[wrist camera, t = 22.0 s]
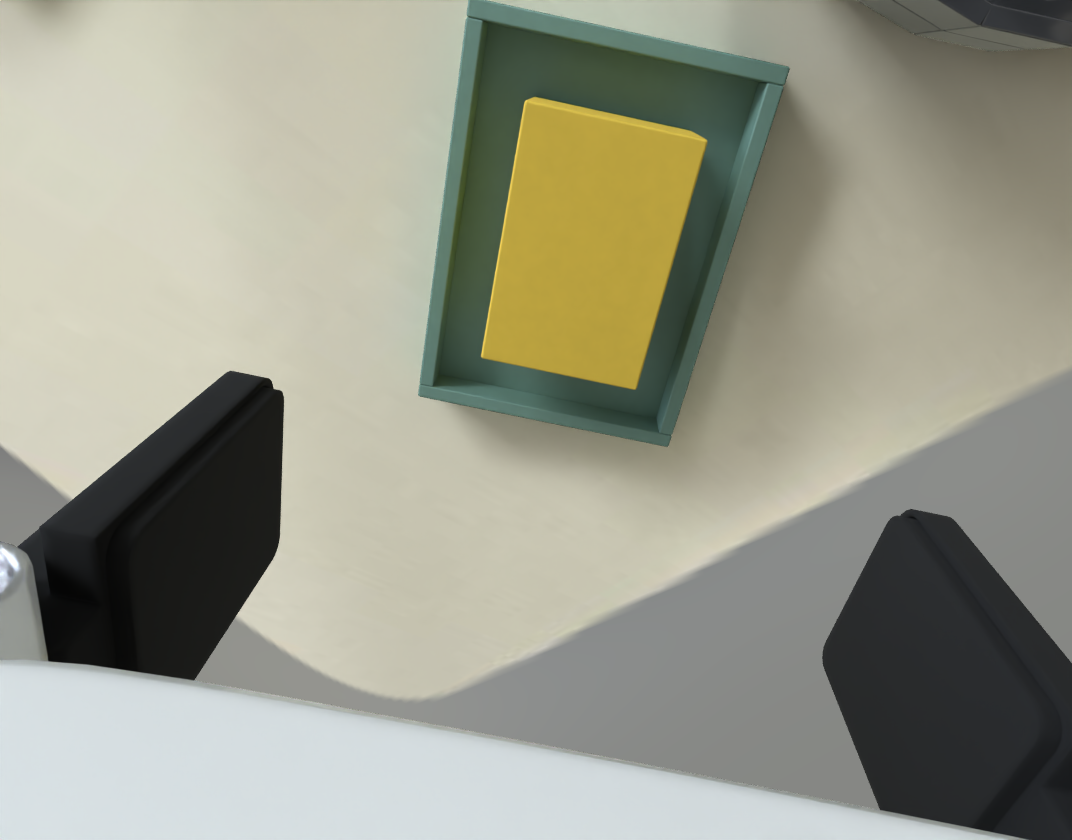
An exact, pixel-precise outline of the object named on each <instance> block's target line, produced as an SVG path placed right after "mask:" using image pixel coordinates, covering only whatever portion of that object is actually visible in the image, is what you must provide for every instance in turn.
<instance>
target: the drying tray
mask: <svg viewBox="0 0 1072 840" xmlns="http://www.w3.org/2000/svg"><path fill="white" fill-rule="evenodd" d="M467 16H468V17H467V18H466V24H465V32H464V39H463V47H462V55H461V63H460V71H459V79H458V87H457V94H456V102H455V110H454V118H453V126H452V134H451V141H450V149H449V157H448V165H447V173H446V181H445V188H444V196H443V204H442V212H441V220H440V228H439V235H438V243H437V251H436V259H435V267H434V275H433V282H432V290H431V298H430V306H429V314H428V322H427V329H426V337H425V345H424V353H423V361H422V369H421V376H420V385H419V392H418V395H419V396H420V397H425V398H430V399H435V400H440V401H445V402H450V403H454V404H459V405H464V406H469V407H474V408H479V409H484V410H489V411H494V412H499V413H504V414H508V415H513V416H518V417H523V418H528V419H533V420H538V421H543V422H548V423H553V424H558V425H562V426H567V427H572V428H577V429H582V430H587V431H592V432H597V433H602V434H607V435H612V436H616V437H621V438H626V439H631V440H636V441H641V442H646V443H651V444H656V445H661V446H666V447H668V446H669V443H670V440H671V435H672V433H673V430H674V427H675V424H676V421H677V418H678V415H679V412H680V408H681V405H682V402H683V399H684V396H685V393H686V390H687V387H688V384H689V380H690V377H691V374H692V371H693V368H694V365H695V362H696V359H697V356H698V352H699V349H700V346H701V343H702V340H703V337H704V334H705V331H706V328H707V324H708V321H709V318H710V315H711V312H712V309H713V306H714V303H715V300H716V297H717V293H718V290H719V287H720V284H721V281H722V278H723V275H724V272H725V269H726V265H727V262H728V259H729V256H730V253H731V250H732V247H733V244H734V241H735V237H736V234H737V231H738V228H739V225H740V222H741V219H742V216H743V213H744V209H745V206H746V203H747V200H748V197H749V194H750V191H751V188H752V185H753V181H754V178H755V175H756V172H757V169H758V166H759V163H760V160H761V157H762V153H763V150H764V147H765V144H766V141H767V138H768V135H769V132H770V129H771V125H772V122H773V119H774V116H775V113H776V110H777V107H778V104H779V101H780V98H781V94H782V91H783V85H784V84H785V82H786V79H787V76H788V73H789V70H790V69H789V67H788V66H783V65H779V64H774V63H770V62H765V61H760V60H756V59H751V58H747V57H742V56H738V55H733V54H729V53H724V52H719V51H715V50H710V49H706V48H701V47H697V46H692V45H687V44H683V43H678V42H674V41H669V40H665V39H660V38H656V37H651V36H646V35H642V34H637V33H633V32H628V31H624V30H619V29H614V28H610V27H605V26H601V25H596V24H592V23H587V22H583V21H578V20H573V19H569V18H564V17H560V16H555V15H551V14H546V13H541V12H537V11H532V10H528V9H523V8H519V7H514V6H510V5H505V4H500V3H496V2H491V1H487V0H468V8H467ZM535 96H538V97H543V98H547V99H552V100H556V101H561V102H566V103H570V104H575V105H579V106H584V107H588V108H593V109H598V110H602V111H607V112H611V113H616V114H620V115H625V116H630V117H634V118H639V119H643V120H648V121H653V122H657V123H662V124H666V125H671V126H675V127H680V128H685V129H689V130H690V131H692V132H694V133H696V134H698V135H699V136H701V137H703V138H705V139H706V140H707V146H706V150H705V153H704V157H703V160H702V164H701V167H700V171H699V174H698V178H697V181H696V185H695V188H694V191H693V195H692V198H691V202H690V205H689V209H688V212H687V216H686V219H685V223H684V226H683V230H682V233H681V237H680V240H679V244H678V247H677V251H676V254H675V257H674V261H673V264H672V268H671V271H670V275H669V278H668V282H667V285H666V289H665V292H664V296H663V299H662V303H661V306H660V310H659V313H658V317H657V320H656V323H655V327H654V330H653V334H652V337H651V341H650V344H649V348H648V351H647V355H646V358H645V362H644V365H643V369H642V372H641V376H640V379H639V383H638V386H637V389H636V390H632V389H628V388H623V387H618V386H613V385H608V384H604V383H599V382H594V381H589V380H584V379H579V378H575V377H570V376H565V375H560V374H555V373H551V372H546V371H541V370H536V369H531V368H527V367H522V366H517V365H512V364H507V363H502V362H498V361H493V360H488V359H483V358H482V357H481V353H482V347H483V341H484V335H485V330H486V324H487V318H488V312H489V306H490V300H491V294H492V289H493V283H494V277H495V271H496V265H497V259H498V253H499V248H500V242H501V236H502V230H503V224H504V218H505V213H506V207H507V201H508V195H509V189H510V183H511V177H512V172H513V166H514V160H515V154H516V148H517V142H518V137H519V131H520V125H521V119H522V113H523V107H524V102H525V101H526V100H528V99H531V98H533V97H535Z"/></svg>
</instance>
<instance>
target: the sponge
mask: <svg viewBox="0 0 1072 840" xmlns="http://www.w3.org/2000/svg"><path fill="white" fill-rule="evenodd" d="M706 146H707V140H706V139H705V138H703V137H701V136H699V135H698V134H696V133H694V132H692V131H690V130H689V129H685V128H680V127H675V126H671V125H666V124H662V123H657V122H653V121H648V120H643V119H639V118H634V117H630V116H625V115H620V114H616V113H611V112H607V111H602V110H598V109H593V108H588V107H584V106H579V105H575V104H570V103H566V102H561V101H556V100H552V99H547V98H543V97H538V96H535V97H533V98H531V99H528V100H526V101H525V102H524V107H523V113H522V119H521V125H520V131H519V137H518V142H517V148H516V154H515V160H514V166H513V172H512V177H511V183H510V189H509V195H508V201H507V207H506V213H505V218H504V224H503V230H502V236H501V242H500V248H499V253H498V259H497V265H496V271H495V277H494V283H493V289H492V294H491V300H490V306H489V312H488V318H487V324H486V330H485V335H484V341H483V347H482V353H481V357H482V358H483V359H488V360H493V361H498V362H502V363H507V364H512V365H517V366H522V367H527V368H531V369H536V370H541V371H546V372H551V373H555V374H560V375H565V376H570V377H575V378H579V379H584V380H589V381H594V382H599V383H604V384H608V385H613V386H618V387H623V388H628V389H632V390H636V389H637V386H638V383H639V379H640V376H641V372H642V369H643V365H644V362H645V358H646V355H647V351H648V348H649V344H650V341H651V337H652V334H653V330H654V327H655V323H656V320H657V317H658V313H659V310H660V306H661V303H662V299H663V296H664V292H665V289H666V285H667V282H668V278H669V275H670V271H671V268H672V264H673V261H674V257H675V254H676V251H677V247H678V244H679V240H680V237H681V233H682V230H683V226H684V223H685V219H686V216H687V212H688V209H689V205H690V202H691V198H692V195H693V191H694V188H695V185H696V181H697V178H698V174H699V171H700V167H701V164H702V160H703V157H704V153H705V150H706Z"/></svg>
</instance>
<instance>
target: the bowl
mask: <svg viewBox="0 0 1072 840" xmlns="http://www.w3.org/2000/svg"><path fill="white" fill-rule="evenodd" d="M857 1H859V2H860V3H862V4H864V5H865V6H867V7H869V8H870V9H872V10H874V11H875V12H877V13H879V14H880V15H882V16H884V17H885V18H887V19H889V20H890V21H892V22H893V23H895V24H897V25H898V26H900V27H902V28H903V29H905V30H907V31H908V32H910V33H914V35H917V36H922V37H926V38H931V39H935V40H940V41H944V42H949V43H953V44H958V45H962V46H967V47H971V48H976V49H980V50H985V51H994V52H996V51H1014V50H1033V49H1051V48H1069V47H1072V0H857Z"/></svg>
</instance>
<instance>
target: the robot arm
mask: <svg viewBox="0 0 1072 840" xmlns="http://www.w3.org/2000/svg"><path fill="white" fill-rule="evenodd" d="M283 416H284V396H283V393H282V391H280V390H275V389H273V384H272V381H271V380H270V379H269V378H264V377H259V376H254V375H249V374H244V373H239V372H234V371H229V372H227V373H225V374H224V375H223V376H222V377H220V378H219V379H218V380H217V381H216V382H214V383H213V384H212V385H211V386H210V387H208V388H207V389H206V390H205V391H203V392H202V393H201V394H200V395H199V396H197V397H196V398H195V399H194V400H193V401H191V402H190V403H189V404H188V405H187V406H185V407H184V408H183V409H182V410H180V411H179V412H178V413H177V414H176V415H174V416H173V417H172V418H171V419H170V420H168V421H167V422H166V423H165V424H164V425H162V426H161V427H160V428H159V429H157V430H156V431H155V432H154V433H153V434H151V435H150V436H149V437H148V438H147V439H145V440H144V441H143V442H142V443H141V444H139V445H138V446H137V447H136V448H134V449H133V450H132V451H131V452H130V453H128V454H127V455H126V456H125V457H124V458H122V459H121V460H120V461H119V462H118V463H116V464H115V465H114V466H113V467H111V468H110V469H109V470H108V471H107V472H105V473H104V474H103V475H102V476H101V477H99V478H98V479H97V480H96V481H95V482H93V483H92V484H91V485H90V486H88V487H87V488H86V489H85V490H84V491H82V492H81V493H80V494H79V495H78V496H76V497H75V498H74V499H73V500H72V501H70V502H69V503H68V504H67V505H66V506H64V507H63V508H62V509H61V510H59V511H58V512H57V513H56V514H55V515H53V516H52V517H51V518H50V519H49V520H47V521H46V522H45V523H44V524H42V525H41V526H40V528H39V529H38V530H37V531H36V532H35V533H33V534H32V535H31V536H30V537H29V538H28V539H26V540H25V541H24V542H23V543H21V544H20V545H19V546H18V547H16V546H14V545H12V544H9V543H5V542H1V541H0V840H1072V663H1071V662H1070V661H1069V659H1068V658H1067V657H1066V656H1065V654H1064V653H1063V652H1062V651H1061V650H1060V648H1059V647H1058V646H1057V645H1056V644H1055V642H1054V641H1053V640H1052V639H1051V638H1050V636H1049V635H1048V634H1047V633H1046V631H1045V630H1044V629H1043V628H1042V626H1041V625H1040V624H1039V623H1038V622H1037V621H1036V619H1035V618H1034V617H1033V616H1032V614H1031V613H1030V612H1029V611H1028V609H1027V608H1026V607H1025V606H1024V604H1023V603H1022V602H1021V601H1020V600H1019V598H1018V597H1017V596H1016V595H1015V594H1014V592H1013V591H1012V590H1011V589H1010V587H1009V586H1008V585H1007V584H1006V583H1005V581H1004V580H1003V579H1002V578H1001V576H1000V575H999V574H998V573H997V572H996V570H995V569H994V568H993V567H992V565H990V563H989V562H988V561H987V559H986V558H985V557H984V556H983V555H982V553H981V552H980V551H979V550H978V548H977V547H976V546H975V545H974V543H973V542H972V541H971V540H970V539H969V537H968V536H967V535H966V534H965V533H964V531H963V530H962V529H961V528H960V527H959V525H958V524H957V523H956V522H955V521H954V520H953V519H952V518H950V517H947V516H942V515H938V514H933V513H928V512H923V511H918V510H913V509H910V510H907V511H905V512H904V513H903V514H901V516H894V517H892V518H891V519H890V520H889V521H888V523H887V525H886V527H885V528H884V531H883V532H882V534H881V536H880V538H879V540H878V542H877V544H876V546H875V548H874V550H873V552H872V553H871V555H870V557H869V559H868V561H867V563H866V565H865V567H864V569H863V571H862V573H861V575H860V577H859V579H858V580H857V582H856V584H855V586H854V588H853V590H852V592H851V594H850V596H849V598H848V600H847V602H846V604H845V606H844V608H843V610H842V612H841V614H840V616H839V617H838V619H837V621H836V623H835V625H834V627H833V629H832V631H831V633H830V635H829V637H828V639H827V640H826V643H825V645H824V649H823V657H822V659H823V666H824V669H825V672H826V674H827V677H828V680H829V682H830V684H831V687H832V690H833V692H834V695H835V697H836V700H837V702H838V704H839V707H840V710H841V712H842V715H843V717H844V720H845V722H846V725H847V727H848V730H849V732H850V735H851V738H852V740H853V742H854V745H855V748H856V750H857V753H858V755H859V758H860V760H861V763H862V765H863V768H864V770H865V773H866V775H867V778H868V780H869V783H870V785H871V788H872V790H873V793H874V796H875V798H876V800H877V803H878V806H879V808H880V810H877V809H872V808H867V807H862V806H857V805H852V804H847V803H842V802H837V801H832V800H827V799H821V798H816V797H812V796H806V795H802V794H796V793H791V792H786V791H781V790H776V789H771V788H766V787H761V786H756V785H750V784H745V783H740V782H735V781H730V780H725V779H719V778H714V777H709V776H704V775H699V774H694V773H688V772H683V771H678V770H673V769H668V768H662V767H657V766H652V765H646V764H641V763H636V762H631V761H626V760H621V759H615V758H610V757H605V756H600V755H594V754H589V753H584V752H578V751H573V750H568V749H563V748H558V747H552V746H547V745H542V744H537V743H531V742H526V741H521V740H515V739H510V738H505V737H500V736H494V735H489V734H483V733H478V732H473V731H467V730H462V729H457V728H451V727H446V726H440V725H435V724H429V723H424V722H418V721H413V720H407V719H403V718H397V717H392V716H386V715H380V714H376V713H370V712H365V711H359V710H354V709H348V708H343V707H338V706H333V705H327V704H321V703H316V702H311V701H306V700H300V699H294V698H289V697H283V696H278V695H273V694H267V693H262V692H256V691H250V690H245V689H240V688H234V687H229V686H223V685H217V684H213V683H207V682H201V681H194V680H195V678H196V677H197V675H198V674H199V672H200V671H201V669H202V668H203V666H204V664H205V663H206V661H207V660H208V658H209V656H210V655H211V654H212V652H213V651H214V649H215V648H216V646H217V644H218V643H219V641H220V640H221V638H222V637H223V635H224V634H225V632H226V631H227V629H228V628H229V626H230V624H231V623H232V621H233V620H234V618H235V617H236V615H237V614H238V612H239V611H240V609H241V608H242V606H243V604H244V603H245V601H246V600H247V598H248V597H249V595H250V594H251V592H252V591H253V589H254V587H255V586H256V584H257V583H258V581H259V580H260V578H261V577H262V575H263V574H264V572H265V571H266V569H267V567H268V566H269V564H270V563H271V561H272V560H273V558H274V556H275V553H276V551H277V548H278V544H279V539H280V516H281V483H282V449H283Z"/></svg>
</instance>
